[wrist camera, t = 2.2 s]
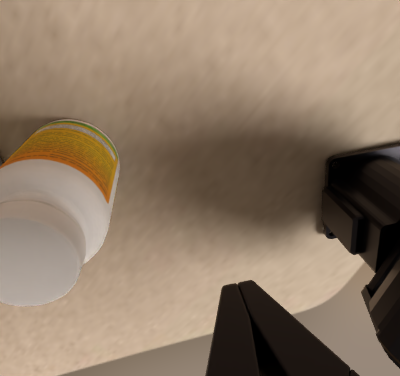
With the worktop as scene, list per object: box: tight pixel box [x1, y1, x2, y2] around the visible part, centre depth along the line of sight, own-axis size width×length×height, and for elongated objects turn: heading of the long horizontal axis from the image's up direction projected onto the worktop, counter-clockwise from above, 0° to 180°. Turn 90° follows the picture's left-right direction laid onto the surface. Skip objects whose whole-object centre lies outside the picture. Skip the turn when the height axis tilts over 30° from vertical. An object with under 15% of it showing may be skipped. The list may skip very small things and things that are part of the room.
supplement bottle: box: [0, 119, 120, 307], centre depth 16 cm, size 5×5×10 cm
